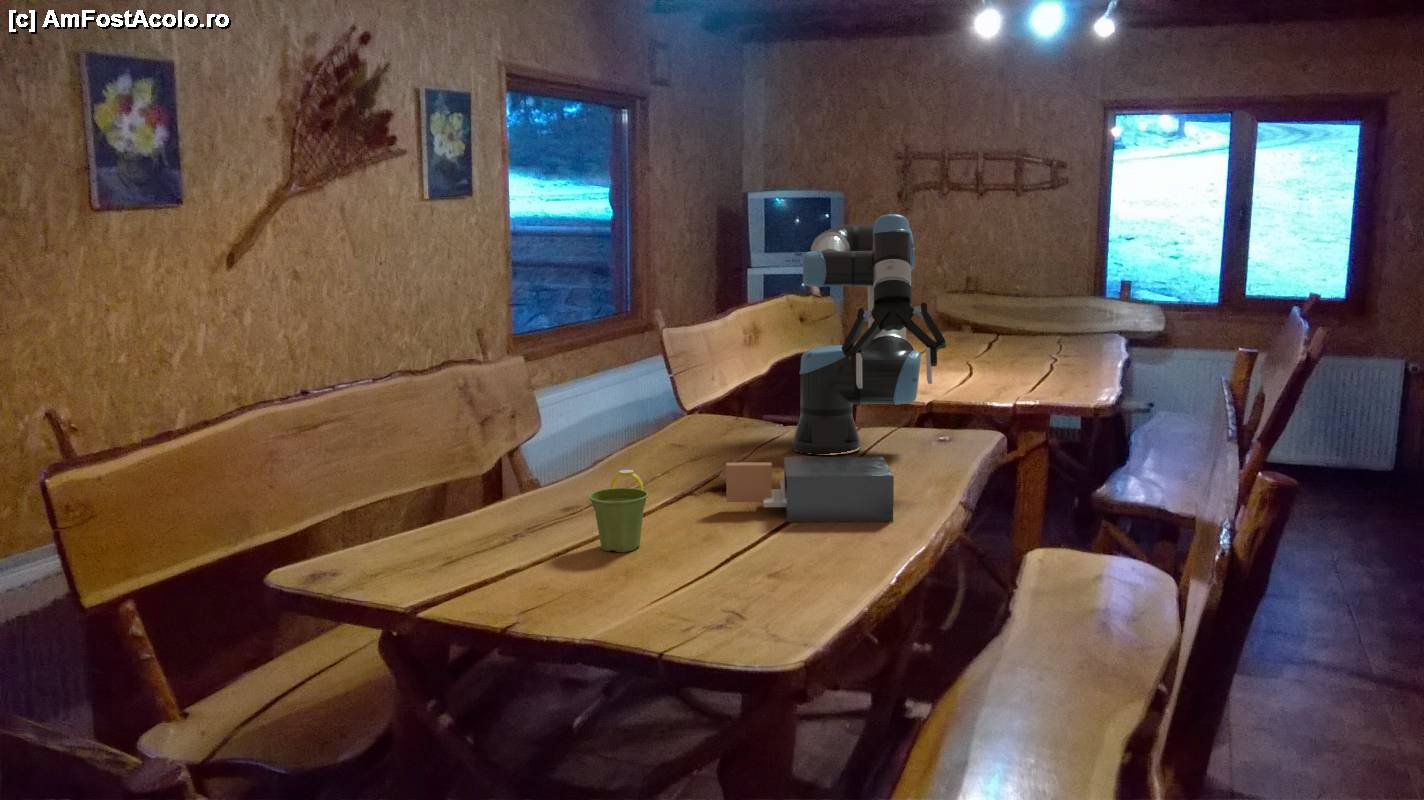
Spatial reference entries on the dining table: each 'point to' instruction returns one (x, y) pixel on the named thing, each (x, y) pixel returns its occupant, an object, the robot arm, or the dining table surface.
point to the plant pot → (619, 517)
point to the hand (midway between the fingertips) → (894, 383)
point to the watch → (628, 473)
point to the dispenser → (837, 489)
